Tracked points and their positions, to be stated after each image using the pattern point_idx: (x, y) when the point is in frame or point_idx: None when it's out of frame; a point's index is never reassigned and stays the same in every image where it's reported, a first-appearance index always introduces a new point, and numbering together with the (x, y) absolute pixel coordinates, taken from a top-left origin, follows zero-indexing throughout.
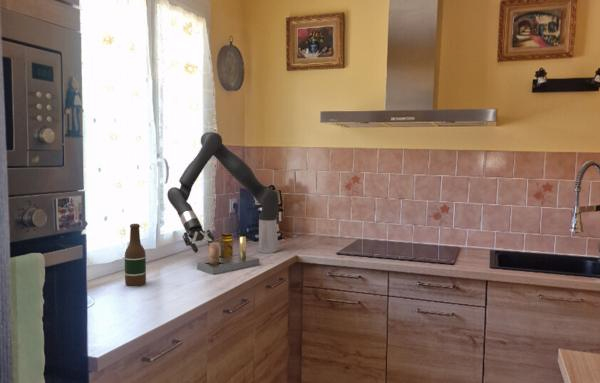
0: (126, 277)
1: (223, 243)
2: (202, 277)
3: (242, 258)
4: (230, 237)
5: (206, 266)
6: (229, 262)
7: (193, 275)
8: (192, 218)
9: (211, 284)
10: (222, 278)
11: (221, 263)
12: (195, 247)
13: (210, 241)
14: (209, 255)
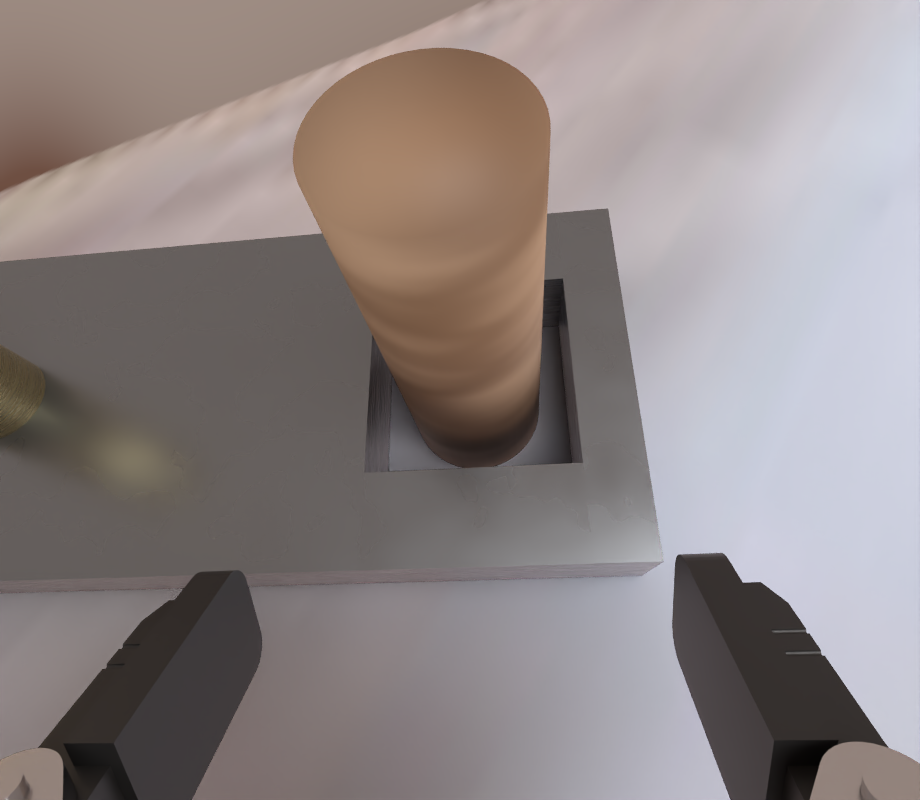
0: None
1: None
2: (745, 234)
3: (36, 365)
4: None
5: (624, 331)
6: (292, 304)
7: (807, 349)
8: None
9: (766, 39)
10: (592, 123)
11: (374, 355)
12: (759, 628)
13: (89, 737)
14: (541, 318)
